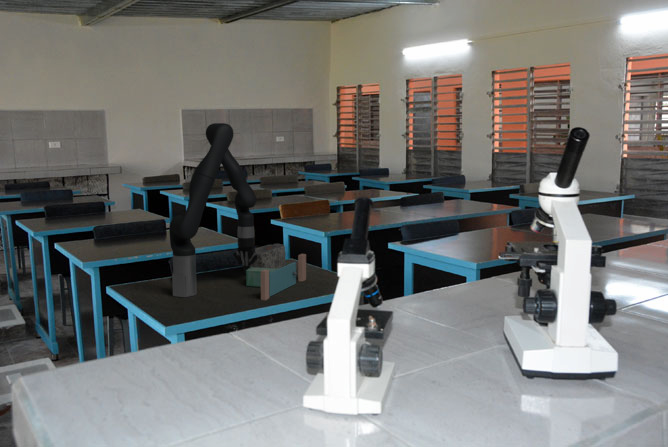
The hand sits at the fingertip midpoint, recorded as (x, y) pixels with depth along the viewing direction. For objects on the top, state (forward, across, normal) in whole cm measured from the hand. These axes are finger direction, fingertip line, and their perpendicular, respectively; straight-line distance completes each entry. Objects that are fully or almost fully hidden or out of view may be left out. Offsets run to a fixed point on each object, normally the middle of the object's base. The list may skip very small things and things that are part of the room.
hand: (246, 273), depth 288 cm
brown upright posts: (+4, +21, -4) cm, 22 cm away
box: (+4, +9, -2) cm, 10 cm away
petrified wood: (+4, +2, +18) cm, 18 cm away
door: (+4, +22, -6) cm, 23 cm away
